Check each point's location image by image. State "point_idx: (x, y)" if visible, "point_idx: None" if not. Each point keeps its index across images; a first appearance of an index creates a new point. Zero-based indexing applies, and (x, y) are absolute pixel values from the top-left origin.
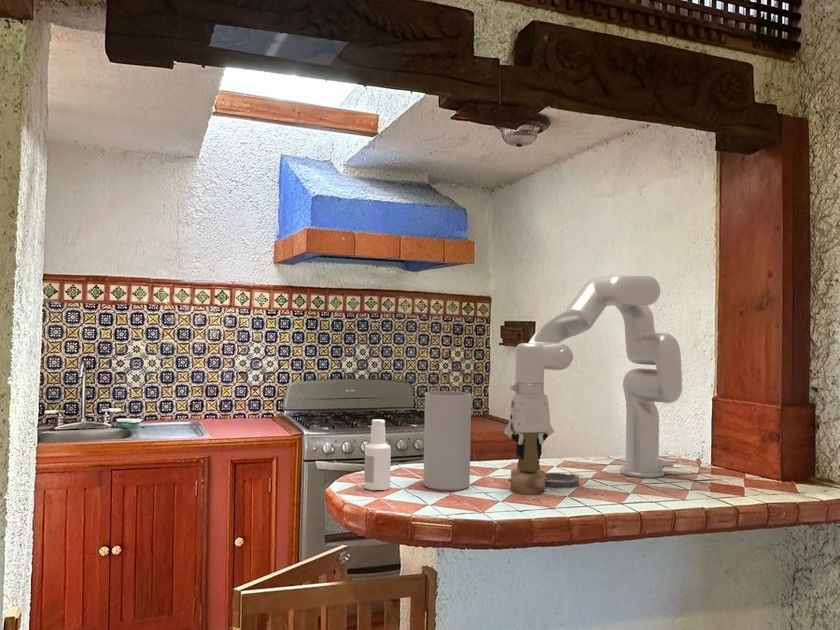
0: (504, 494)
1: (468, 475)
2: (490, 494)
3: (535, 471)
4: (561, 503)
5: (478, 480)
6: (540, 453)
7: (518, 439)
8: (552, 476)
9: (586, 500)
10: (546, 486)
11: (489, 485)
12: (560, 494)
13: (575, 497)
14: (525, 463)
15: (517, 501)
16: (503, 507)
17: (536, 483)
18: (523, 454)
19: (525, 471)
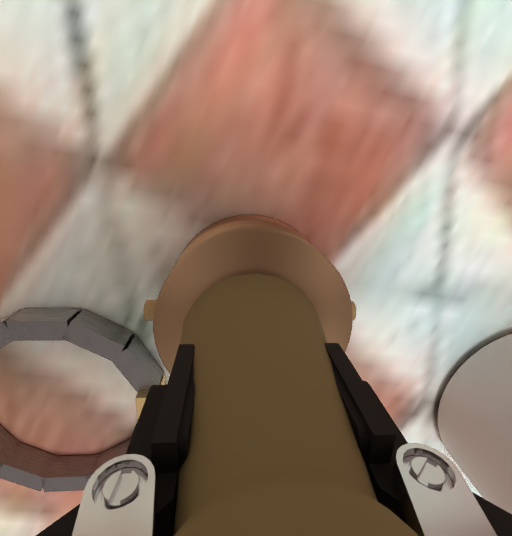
0: (376, 245)
1: (504, 388)
2: (431, 255)
3: None
4: (189, 10)
5: None
6: (158, 391)
7: (476, 512)
8: (54, 465)
9: (22, 43)
10: (137, 339)
11: None
12: (122, 200)
13: (64, 124)
14: (308, 312)
15: (385, 108)
16: (508, 3)
17: (243, 223)
18: (337, 364)
19: None
